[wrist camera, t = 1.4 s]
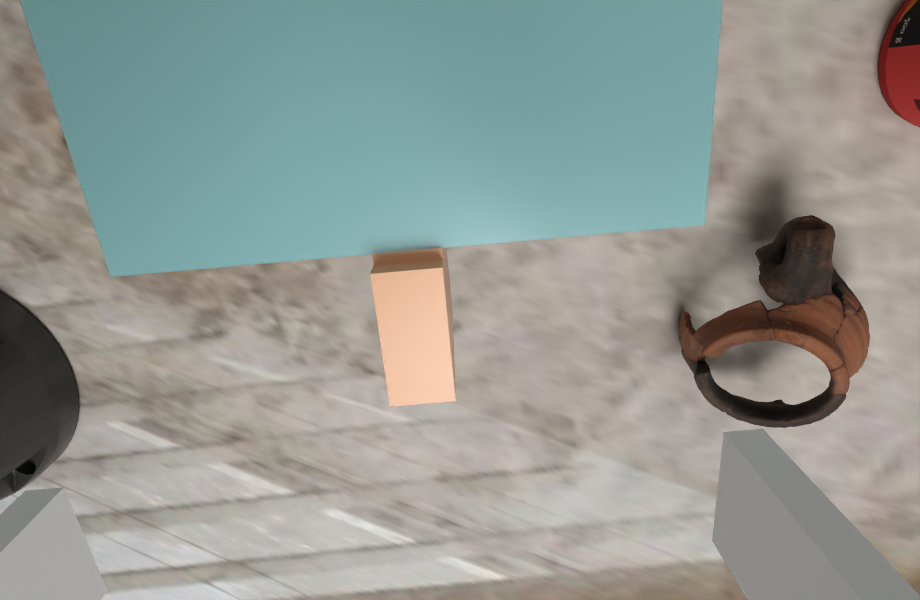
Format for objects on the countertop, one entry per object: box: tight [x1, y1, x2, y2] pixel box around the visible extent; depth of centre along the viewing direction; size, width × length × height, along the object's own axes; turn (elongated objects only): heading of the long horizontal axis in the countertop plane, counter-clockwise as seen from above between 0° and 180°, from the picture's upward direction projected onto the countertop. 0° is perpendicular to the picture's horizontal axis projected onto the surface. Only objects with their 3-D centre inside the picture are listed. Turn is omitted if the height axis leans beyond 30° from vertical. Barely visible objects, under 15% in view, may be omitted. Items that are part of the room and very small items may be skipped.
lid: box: [20, 0, 722, 407], centre depth 20 cm, size 21×20×8 cm
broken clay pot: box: [679, 215, 870, 428], centre depth 31 cm, size 12×10×8 cm
